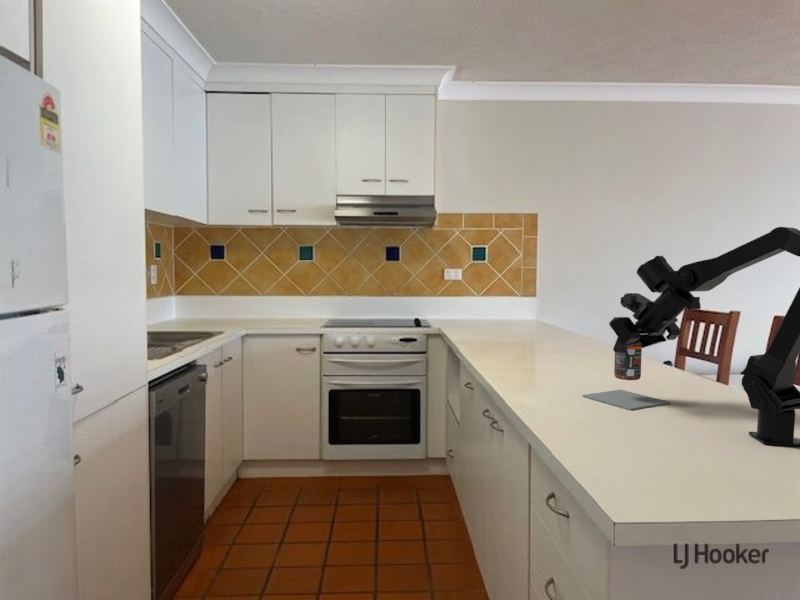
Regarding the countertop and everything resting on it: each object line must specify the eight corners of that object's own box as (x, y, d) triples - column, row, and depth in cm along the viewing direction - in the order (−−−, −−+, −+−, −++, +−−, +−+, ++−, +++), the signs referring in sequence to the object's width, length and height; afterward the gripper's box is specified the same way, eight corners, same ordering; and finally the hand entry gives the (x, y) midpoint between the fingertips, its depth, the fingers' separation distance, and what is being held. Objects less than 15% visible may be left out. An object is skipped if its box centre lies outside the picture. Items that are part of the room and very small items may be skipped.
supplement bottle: (638, 382, 128) (639, 334, 127) (611, 379, 131) (612, 332, 130) (643, 377, 133) (644, 331, 132) (617, 374, 136) (618, 329, 135)
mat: (670, 403, 130) (670, 401, 130) (630, 410, 123) (630, 408, 123) (620, 391, 142) (620, 389, 142) (582, 396, 135) (582, 395, 135)
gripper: (670, 281, 131) (630, 323, 142) (617, 281, 123) (578, 326, 133) (700, 317, 125) (656, 357, 135) (647, 320, 116) (603, 363, 126)
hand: (623, 350), depth 133 cm, fingers closed on supplement bottle, 6 cm apart
